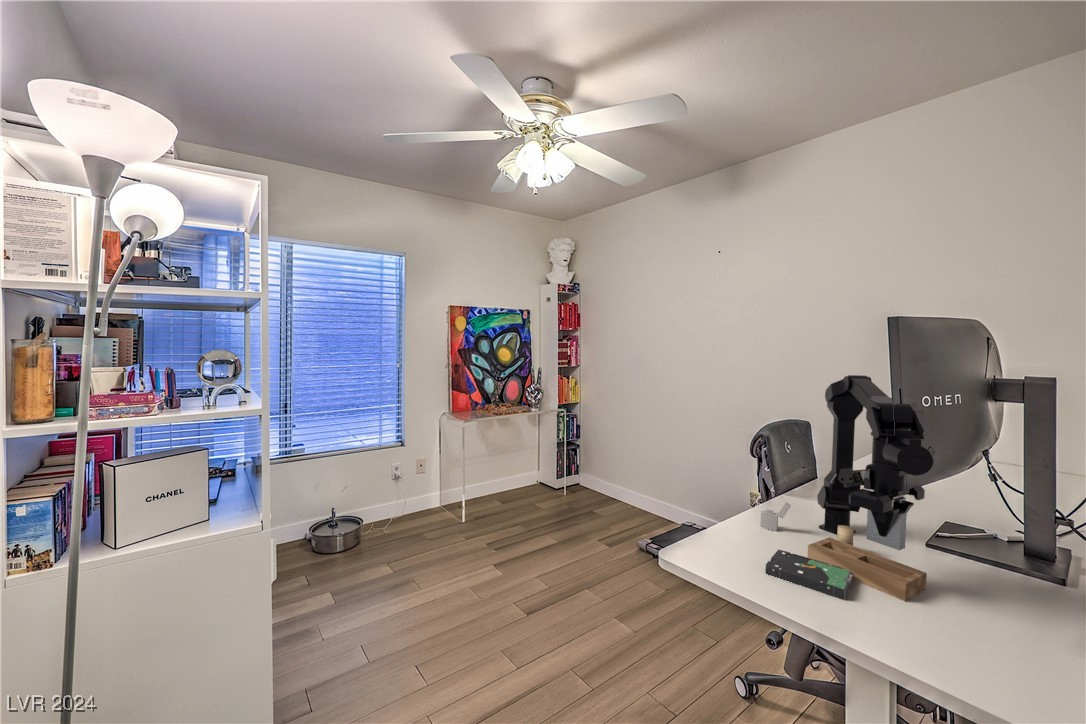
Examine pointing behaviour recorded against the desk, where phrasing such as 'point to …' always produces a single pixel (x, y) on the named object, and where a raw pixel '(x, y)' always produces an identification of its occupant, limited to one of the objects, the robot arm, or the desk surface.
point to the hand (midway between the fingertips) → (885, 534)
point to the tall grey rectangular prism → (895, 533)
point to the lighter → (772, 517)
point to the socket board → (870, 568)
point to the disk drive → (810, 574)
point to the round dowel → (845, 534)
